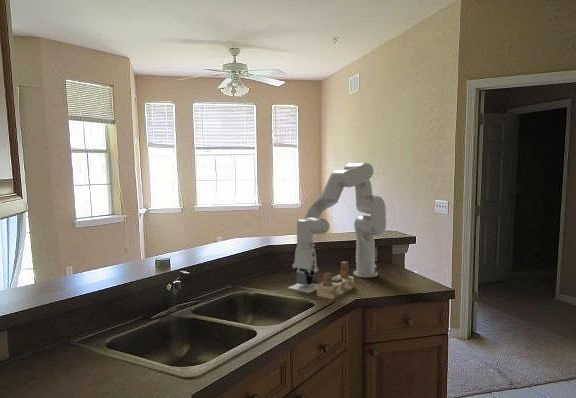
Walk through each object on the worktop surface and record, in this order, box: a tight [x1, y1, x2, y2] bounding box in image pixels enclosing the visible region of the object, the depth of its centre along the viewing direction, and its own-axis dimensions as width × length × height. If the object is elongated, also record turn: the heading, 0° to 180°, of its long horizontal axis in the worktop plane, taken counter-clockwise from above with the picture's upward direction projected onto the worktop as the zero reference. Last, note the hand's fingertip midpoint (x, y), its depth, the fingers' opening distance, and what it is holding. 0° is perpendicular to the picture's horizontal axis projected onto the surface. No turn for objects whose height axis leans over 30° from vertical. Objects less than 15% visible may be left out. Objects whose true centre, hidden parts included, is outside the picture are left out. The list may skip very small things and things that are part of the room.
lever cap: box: [296, 270, 315, 285], centre depth 181 cm, size 7×5×6 cm
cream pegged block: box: [316, 261, 355, 300], centre depth 175 cm, size 20×8×12 cm, turn 143°
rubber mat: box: [287, 282, 319, 294], centre depth 182 cm, size 12×12×1 cm
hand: (305, 282), depth 182 cm, fingers closed on lever cap, 5 cm apart
